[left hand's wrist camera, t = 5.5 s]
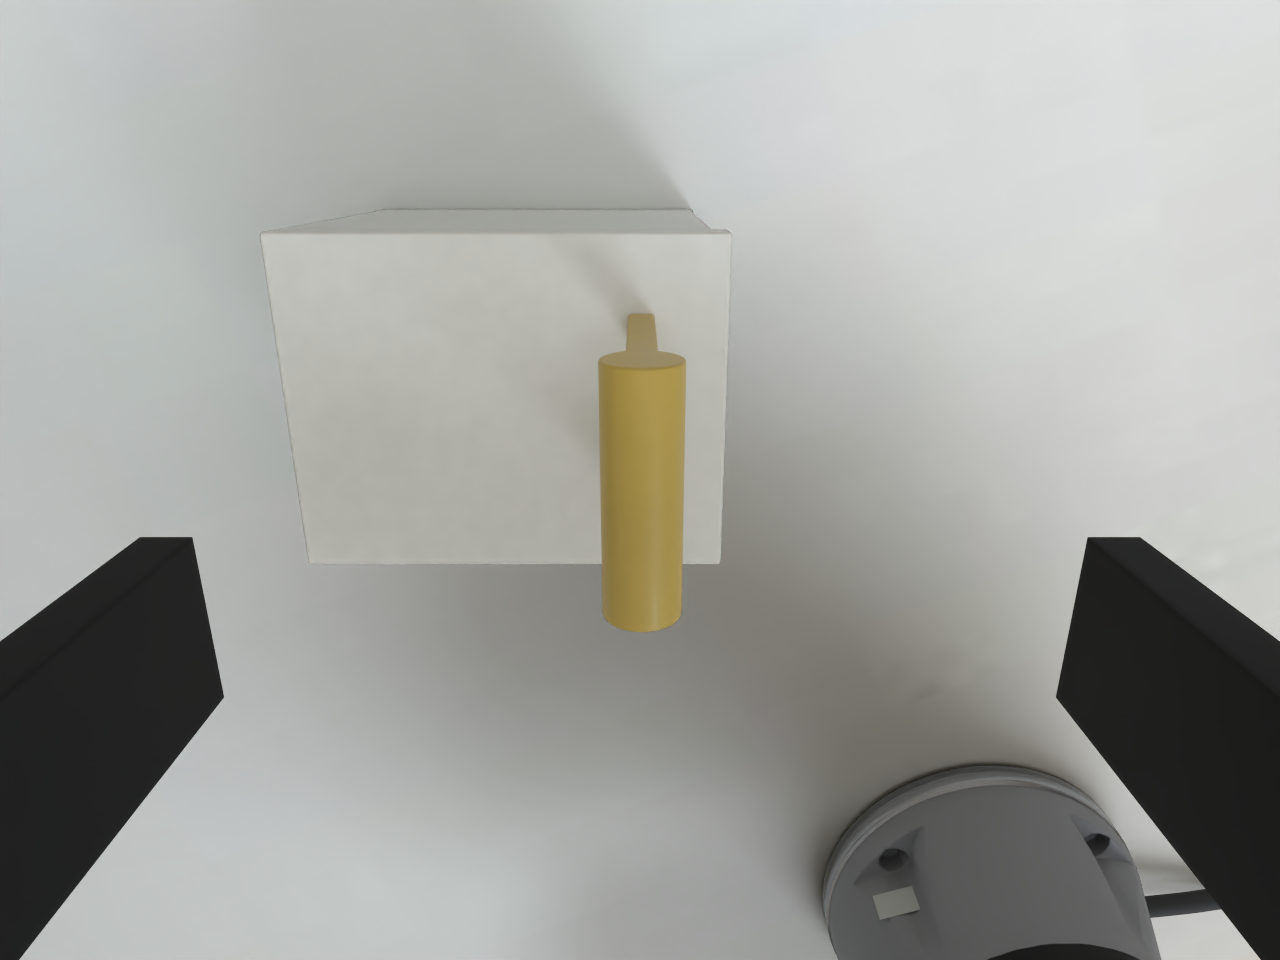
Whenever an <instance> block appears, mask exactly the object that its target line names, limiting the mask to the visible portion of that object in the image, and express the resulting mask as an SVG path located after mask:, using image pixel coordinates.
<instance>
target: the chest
mask: <svg viewBox="0 0 1280 960" xmlns="http://www.w3.org/2000/svg"><path fill="white" fill-rule="evenodd" d="M278 230H712V229H710V228H709V227H708V226H707V225H706V224H705V223H704V222H703V221H702V220H700V219H699V218H698V217H697V216H696V215H695V214H694V213H693V211H692V210H378V211H375V212H371V213H365V214H360V215H354V216H349V217H343V218H337V219H332V220H326V221H321V222H315V223H310V224H304V225H298V226H293V227H287V228H282V229H278Z"/></svg>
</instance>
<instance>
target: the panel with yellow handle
mask: <svg viewBox="0 0 1280 960" xmlns="http://www.w3.org/2000/svg"><path fill="white" fill-rule="evenodd" d="M260 239H261V246H262V253H263V259H264V266H265V273H266V280H267V286H268V293H269V300H270V306H271V313H272V320H273V327H274V333H275V340H276V347H277V353H278V360H279V367H280V374H281V380H282V387H283V394H284V401H285V407H286V414H287V421H288V427H289V434H290V441H291V448H292V454H293V461H294V468H295V474H296V481H297V488H298V495H299V501H300V508H301V515H302V521H303V528H304V535H305V542H306V548H307V555H308V562H309V564H602V612H603V616H604V617H605V619H606V620H607V621H608V622H609V623H610V624H611V625H613V626H615V627H617V628H620V629H623V630H627V631H634V632H651V631H657V630H661V629H664V628H667V627H669V626H671V625H673V624H674V623H675V622H677V621H678V619H679V618H680V616H681V613H682V565H683V564H719V563H720V561H721V534H722V506H723V478H724V451H725V423H726V395H727V368H728V340H729V312H730V285H731V257H732V233H731V232H730V231H728V230H270V231H265V232H261V233H260Z"/></svg>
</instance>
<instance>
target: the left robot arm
mask: <svg viewBox="0 0 1280 960" xmlns="http://www.w3.org/2000/svg"><path fill="white" fill-rule="evenodd" d="M223 698H224V695H223V690H222V685H221V680H220V675H219V669H218V664H217V659H216V654H215V649H214V644H213V639H212V634H211V629H210V624H209V619H208V614H207V609H206V604H205V599H204V594H203V589H202V584H201V579H200V574H199V569H198V564H197V559H196V554H195V549H194V544H193V539H192V537H140V538H138V539H137V540H136V541H134V542H133V543H132V544H130V545H129V546H128V547H126V548H125V549H124V550H122V551H121V552H120V553H118V554H117V555H116V556H114V557H113V558H112V559H110V560H109V561H108V562H106V563H105V564H104V565H102V566H101V567H99V568H98V569H97V570H95V571H94V572H93V573H91V574H90V575H89V576H87V577H86V578H85V579H83V580H82V581H81V582H79V583H78V584H77V585H75V586H74V587H73V588H71V589H70V590H69V591H67V592H66V593H65V594H63V595H62V596H61V597H59V598H58V599H57V600H55V601H54V602H53V603H51V604H50V605H49V606H47V607H46V608H45V609H43V610H42V611H40V612H39V613H38V614H36V615H35V616H34V617H32V618H31V619H30V620H28V621H27V622H26V623H24V624H23V625H22V626H20V627H19V628H18V629H16V630H15V631H14V632H12V633H11V634H10V635H8V636H7V637H6V638H4V639H3V640H2V641H0V960H19V959H20V958H21V957H22V955H23V954H24V953H25V951H26V950H27V949H28V948H29V946H30V945H31V944H32V942H33V941H34V940H35V939H36V937H37V936H38V935H39V933H40V932H41V931H42V930H43V928H44V927H45V926H46V924H47V923H48V922H49V921H50V919H51V918H52V917H53V916H54V914H55V913H56V912H57V910H58V909H59V908H60V907H61V905H62V904H63V903H64V901H65V900H66V899H67V898H68V896H69V895H70V894H71V892H72V891H73V890H74V889H75V887H76V886H77V885H78V884H79V882H80V881H81V880H82V878H83V877H84V876H85V875H86V873H87V872H88V871H89V869H90V868H91V867H92V866H93V864H94V863H95V862H96V860H97V859H98V858H99V857H100V855H101V854H102V853H103V851H104V850H105V849H106V848H107V846H108V845H109V844H110V843H111V841H112V840H113V839H114V837H115V836H116V835H117V834H118V832H119V831H120V830H121V828H122V827H123V826H124V825H125V823H126V822H127V821H128V819H129V818H130V817H131V816H132V814H133V813H134V812H135V811H136V809H137V808H138V807H139V805H140V804H141V803H142V802H143V800H144V799H145V798H146V796H147V795H148V794H149V793H150V791H151V790H152V789H153V787H154V786H155V785H156V784H157V782H158V781H159V780H160V779H161V777H162V776H163V775H164V773H165V772H166V771H167V770H168V768H169V767H170V766H171V764H172V763H173V762H174V761H175V759H176V758H177V757H178V755H179V754H180V753H181V752H182V750H183V749H184V748H185V746H186V745H187V744H188V743H189V741H190V740H191V739H192V738H193V736H194V735H195V734H196V732H197V731H198V730H199V729H200V727H201V726H202V725H203V723H204V722H205V721H206V720H207V718H208V717H209V716H210V714H211V713H212V712H213V711H214V709H215V708H216V707H217V706H218V704H219V703H220V702H221V700H222V699H223ZM1056 698H1057V699H1058V700H1059V702H1060V703H1061V704H1062V706H1063V707H1064V708H1065V709H1066V711H1067V712H1068V713H1069V714H1070V716H1071V717H1072V718H1073V720H1074V721H1075V722H1076V723H1077V725H1078V726H1079V727H1080V729H1081V730H1082V731H1083V732H1084V734H1085V735H1086V736H1087V738H1088V739H1089V740H1090V741H1091V743H1092V744H1093V745H1094V746H1095V748H1096V749H1097V750H1098V752H1099V753H1100V754H1101V755H1102V757H1103V758H1104V759H1105V761H1106V762H1107V763H1108V764H1109V766H1110V767H1111V768H1112V770H1113V771H1114V772H1115V773H1116V775H1117V776H1118V777H1119V779H1120V780H1121V781H1122V782H1123V784H1124V785H1125V786H1126V787H1127V789H1128V790H1129V791H1130V793H1131V794H1132V795H1133V796H1134V798H1135V799H1136V800H1137V802H1138V803H1139V804H1140V805H1141V807H1142V808H1143V809H1144V811H1145V812H1146V813H1147V814H1148V816H1149V817H1150V818H1151V819H1152V821H1153V822H1154V823H1155V825H1156V826H1157V827H1158V828H1159V830H1160V831H1161V832H1162V834H1163V835H1164V836H1165V837H1166V839H1167V840H1168V841H1169V843H1170V844H1171V845H1172V846H1173V848H1174V849H1175V850H1176V852H1177V853H1178V854H1179V855H1180V857H1181V858H1182V859H1183V860H1184V862H1185V863H1186V864H1187V866H1188V867H1189V868H1190V869H1191V871H1192V872H1193V873H1194V875H1195V876H1196V877H1197V878H1198V880H1199V881H1200V882H1201V884H1202V885H1203V886H1204V887H1205V889H1203V890H1196V891H1189V892H1181V893H1172V894H1163V895H1153V896H1144V892H1143V889H1142V885H1141V881H1140V877H1139V874H1138V871H1137V868H1136V866H1135V864H1134V862H1133V859H1132V857H1131V855H1130V853H1129V851H1128V849H1127V847H1126V845H1125V843H1124V841H1123V839H1122V838H1121V836H1120V835H1119V834H1118V832H1117V831H1116V829H1115V828H1114V826H1113V825H1112V824H1111V822H1110V821H1109V819H1108V818H1107V817H1106V815H1105V814H1104V812H1103V811H1102V810H1101V809H1100V808H1099V807H1098V806H1097V804H1096V803H1095V802H1094V801H1092V800H1091V799H1090V798H1089V797H1088V796H1087V795H1086V794H1084V793H1083V792H1081V791H1080V790H1078V789H1077V788H1076V787H1074V786H1072V785H1070V784H1068V783H1067V782H1065V781H1063V780H1060V779H1058V778H1056V777H1053V776H1051V775H1048V774H1045V773H1041V772H1038V771H1034V770H1030V769H1025V768H1019V767H1011V766H994V765H990V766H972V767H964V768H958V769H953V770H948V771H943V772H940V773H936V774H933V775H929V776H927V777H924V778H921V779H918V780H916V781H914V782H911V783H909V784H907V785H905V786H903V787H901V788H899V789H897V790H895V791H893V792H892V793H890V794H888V795H887V796H885V797H884V798H882V799H881V800H879V801H878V802H876V803H875V804H874V805H872V806H871V807H870V808H869V809H867V810H866V811H865V812H864V813H863V814H862V815H861V816H860V817H859V818H858V819H857V820H856V821H855V822H854V823H853V824H852V825H851V826H850V827H849V829H848V830H847V831H846V832H845V834H844V835H843V837H842V838H841V839H840V841H839V842H838V844H837V846H836V848H835V849H834V851H833V853H832V855H831V858H830V860H829V862H828V865H827V868H826V872H825V875H824V881H823V889H822V902H823V910H824V915H825V919H826V923H827V927H828V931H829V935H830V940H831V943H832V945H833V948H834V951H835V953H836V955H837V957H838V959H839V960H1161V957H1160V953H1159V949H1158V945H1157V942H1156V938H1155V934H1154V930H1153V926H1152V923H1151V919H1150V918H1153V917H1163V916H1172V915H1182V914H1191V913H1198V912H1205V911H1212V910H1218V909H1222V910H1223V912H1224V913H1225V914H1226V916H1227V917H1228V918H1229V919H1230V921H1231V922H1232V923H1233V925H1234V926H1235V927H1236V928H1237V930H1238V931H1239V932H1240V933H1241V935H1242V936H1243V937H1244V939H1245V940H1246V941H1247V942H1248V944H1249V945H1250V946H1251V948H1252V949H1253V950H1254V951H1255V953H1256V954H1257V955H1258V957H1259V958H1260V959H1261V960H1280V641H1278V640H1277V639H1276V638H1274V637H1273V636H1272V635H1270V634H1269V633H1268V632H1266V631H1265V630H1264V629H1262V628H1261V627H1260V626H1258V625H1257V624H1256V623H1254V622H1253V621H1252V620H1250V619H1249V618H1248V617H1246V616H1245V615H1244V614H1242V613H1241V612H1240V611H1238V610H1237V609H1235V608H1234V607H1233V606H1231V605H1230V604H1229V603H1227V602H1226V601H1225V600H1223V599H1222V598H1221V597H1219V596H1218V595H1217V594H1215V593H1214V592H1213V591H1211V590H1210V589H1209V588H1207V587H1206V586H1205V585H1203V584H1202V583H1201V582H1199V581H1198V580H1197V579H1195V578H1194V577H1193V576H1191V575H1190V574H1189V573H1187V572H1186V571H1185V570H1183V569H1182V568H1181V567H1179V566H1178V565H1176V564H1175V563H1174V562H1172V561H1171V560H1170V559H1168V558H1167V557H1166V556H1164V555H1163V554H1162V553H1160V552H1159V551H1158V550H1156V549H1155V548H1154V547H1152V546H1151V545H1150V544H1148V543H1147V542H1146V541H1144V540H1143V539H1142V538H1140V537H1088V539H1087V544H1086V549H1085V554H1084V559H1083V564H1082V569H1081V574H1080V579H1079V584H1078V589H1077V594H1076V599H1075V604H1074V609H1073V614H1072V619H1071V624H1070V629H1069V634H1068V639H1067V644H1066V649H1065V654H1064V659H1063V664H1062V669H1061V674H1060V680H1059V685H1058V690H1057V695H1056Z"/></svg>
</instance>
